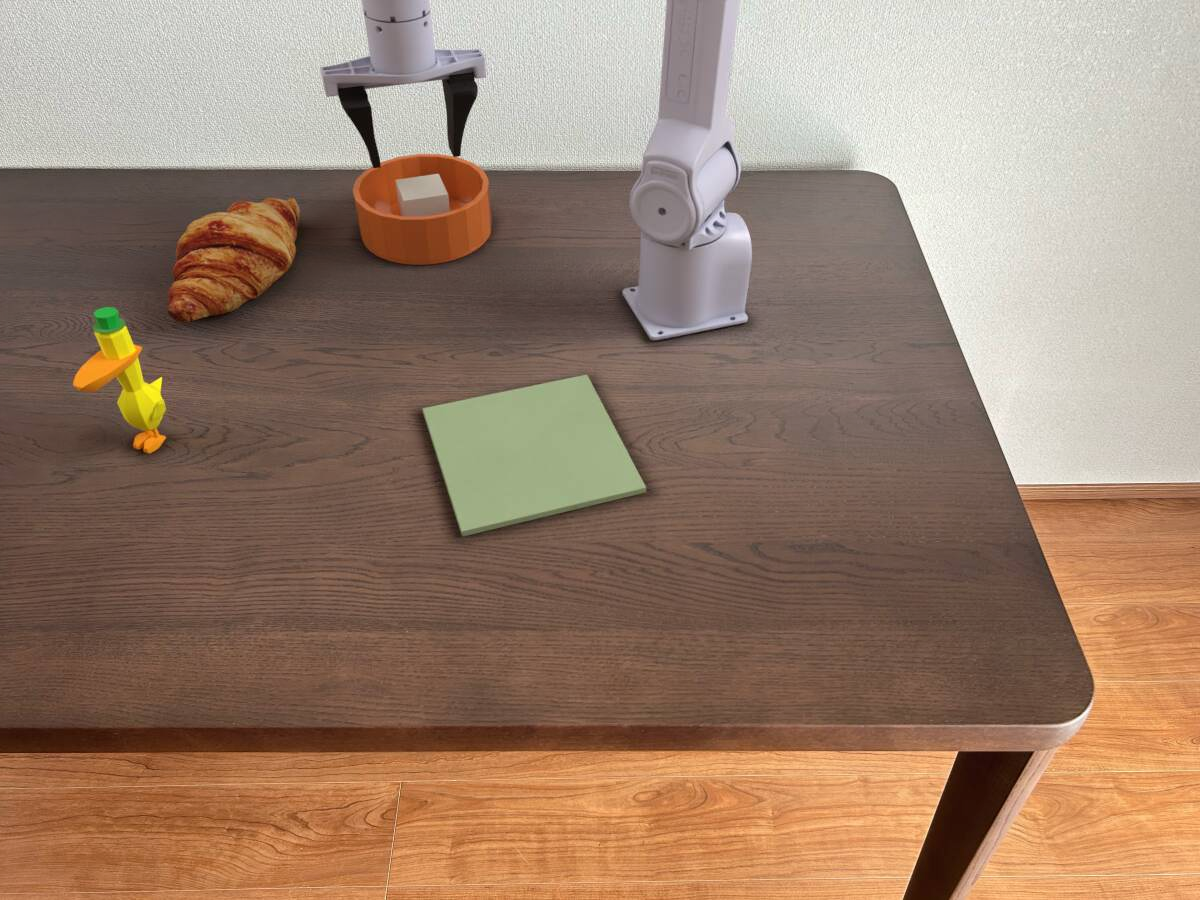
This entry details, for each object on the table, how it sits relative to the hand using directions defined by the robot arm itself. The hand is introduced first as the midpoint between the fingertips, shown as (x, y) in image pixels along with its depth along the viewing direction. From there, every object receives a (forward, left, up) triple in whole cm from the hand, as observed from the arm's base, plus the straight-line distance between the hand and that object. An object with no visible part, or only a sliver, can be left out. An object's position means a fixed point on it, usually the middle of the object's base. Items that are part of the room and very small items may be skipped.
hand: (415, 157), depth 93 cm
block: (0, -1, -8) cm, 8 cm away
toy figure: (+27, +24, -8) cm, 37 cm away
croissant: (+18, +2, -8) cm, 20 cm away
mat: (-1, +34, -8) cm, 35 cm away
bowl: (0, -1, -8) cm, 8 cm away
